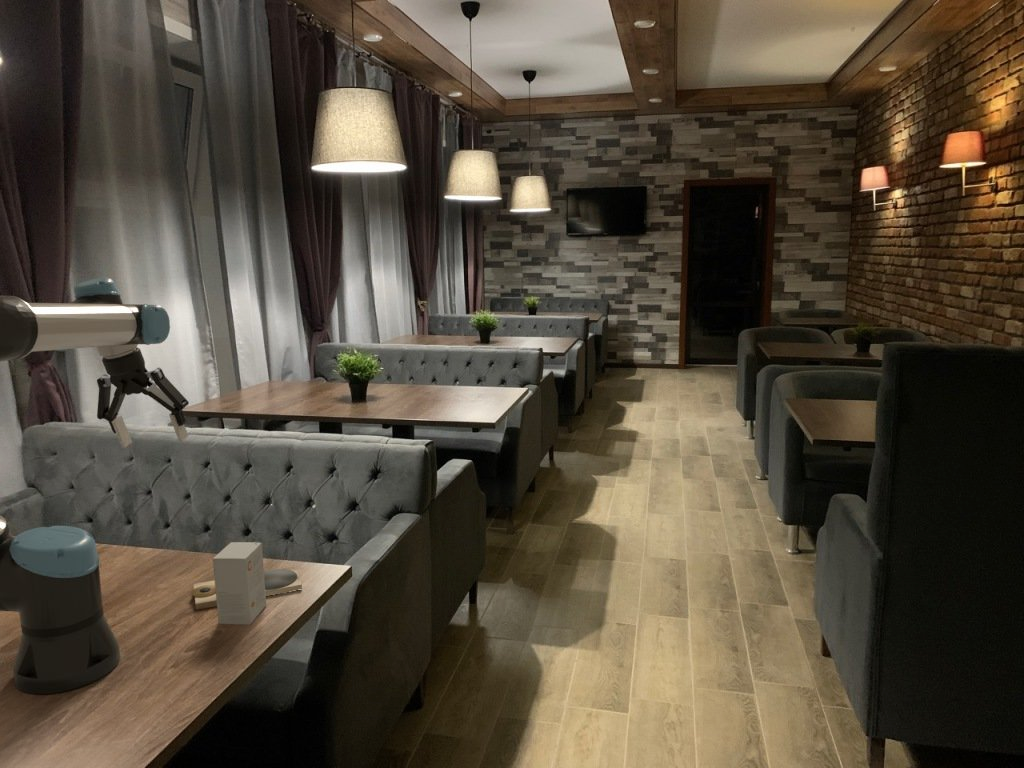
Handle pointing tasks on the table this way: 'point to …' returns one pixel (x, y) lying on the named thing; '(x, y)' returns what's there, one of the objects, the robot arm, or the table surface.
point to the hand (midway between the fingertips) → (155, 441)
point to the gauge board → (273, 579)
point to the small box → (239, 582)
